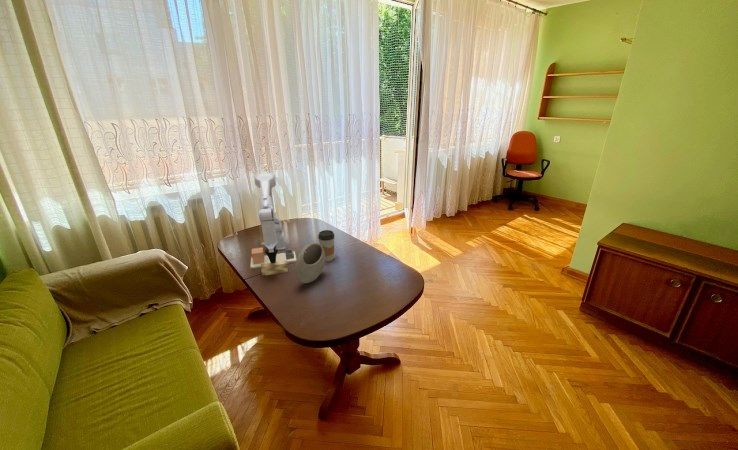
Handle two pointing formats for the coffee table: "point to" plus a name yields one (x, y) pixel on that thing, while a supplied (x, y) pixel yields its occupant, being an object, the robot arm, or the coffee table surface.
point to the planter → (310, 263)
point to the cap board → (278, 258)
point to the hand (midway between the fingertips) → (273, 258)
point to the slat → (274, 268)
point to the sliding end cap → (258, 255)
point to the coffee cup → (327, 243)
